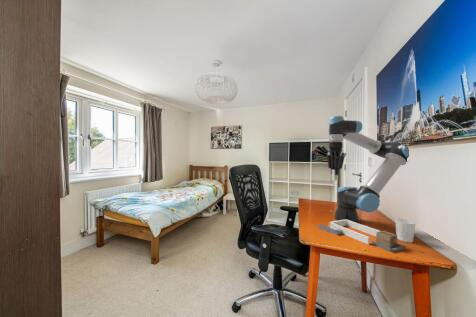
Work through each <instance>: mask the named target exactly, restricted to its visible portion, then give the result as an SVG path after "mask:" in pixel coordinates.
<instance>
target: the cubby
mask: <svg viewBox="0 0 476 317" xmlns="http://www.w3.org/2000/svg"><path fill="white" fill-rule="evenodd" d="M346 226H347V227H349V228H347V227H346ZM328 227H329V228H332V229H334V230H338V229H340V230H342V234H341V235H344V236H347V237H350V238H352V239H354V240H356V241H359V242H361V243H363V244H366V245H370V241H371V240H370V238H371V237H370V236H367V235H364V234H362V233H359V232H357V231H360V232H363V233H365V234H368V235H371V236H373V237H376V234H377V232H380V231H381V230H379V229H376V228H373V227H370V226H367V225H364V224H362V223H361V224H360V223H356V222H353V221H350V220H347V219H345V220H339V221H338V220H333V221H328ZM350 228H353V229H355V230H356V231H355V230H353V229H350Z"/></svg>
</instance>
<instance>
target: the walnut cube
mask: <svg viewBox="0 0 476 317" xmlns="http://www.w3.org/2000/svg"><path fill="white" fill-rule="evenodd" d="M379 231H380V232H377V234H376V236H375V237H376V240H375V242H376V243H379V244H381V245H384V246H386V247H389V248H391V249H392V248H396V247H397V243H398V239H397V235H396V234H394V233H391V232H388V231H386V230H379Z"/></svg>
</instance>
